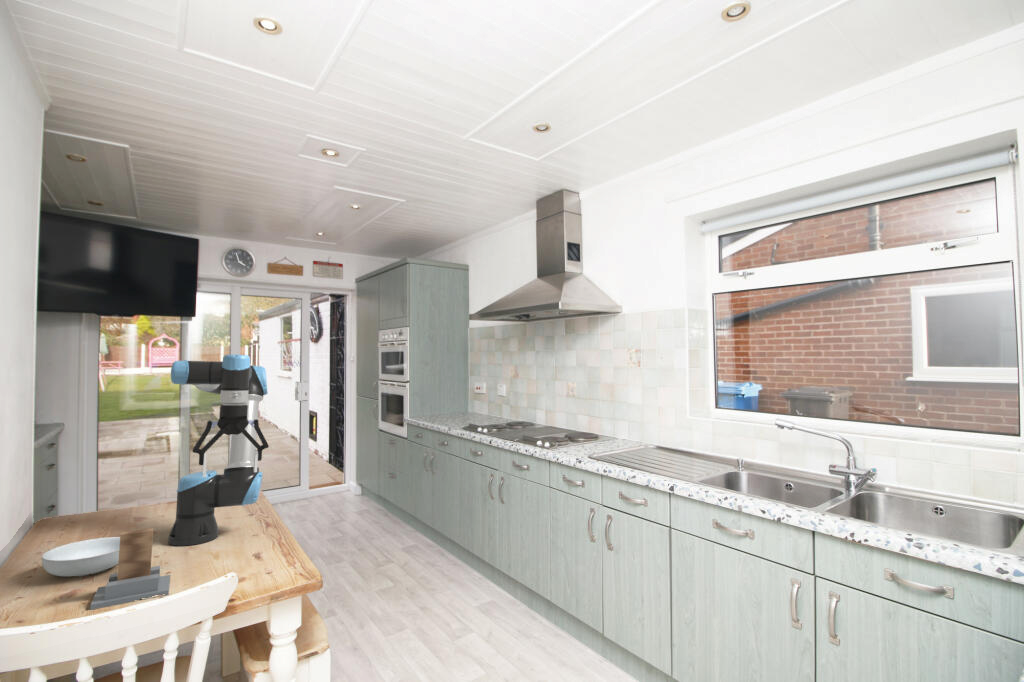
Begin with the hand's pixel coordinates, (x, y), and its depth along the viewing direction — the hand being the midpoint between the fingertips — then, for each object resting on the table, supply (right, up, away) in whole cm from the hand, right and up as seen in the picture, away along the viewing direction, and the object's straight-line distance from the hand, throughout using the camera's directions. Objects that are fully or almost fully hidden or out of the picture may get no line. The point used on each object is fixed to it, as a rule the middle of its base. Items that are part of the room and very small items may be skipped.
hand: (230, 473), depth 149 cm
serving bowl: (-41, -28, -4) cm, 50 cm away
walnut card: (-16, -26, -18) cm, 35 cm away
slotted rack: (-16, -27, -18) cm, 36 cm away
